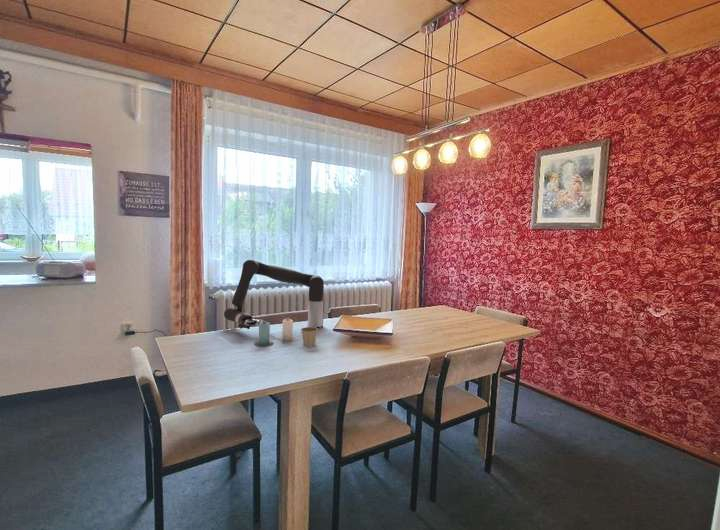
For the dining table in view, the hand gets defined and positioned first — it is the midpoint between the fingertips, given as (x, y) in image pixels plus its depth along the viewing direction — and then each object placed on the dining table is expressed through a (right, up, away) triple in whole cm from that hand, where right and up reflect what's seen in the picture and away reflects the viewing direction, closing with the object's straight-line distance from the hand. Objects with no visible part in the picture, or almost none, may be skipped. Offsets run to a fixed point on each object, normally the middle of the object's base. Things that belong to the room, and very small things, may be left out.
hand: (256, 326), depth 193 cm
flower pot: (+29, -10, -3) cm, 31 cm away
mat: (+6, -9, -6) cm, 12 cm away
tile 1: (+4, -8, +4) cm, 10 cm away
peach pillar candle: (+16, -8, +3) cm, 18 cm away
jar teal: (+6, -8, -6) cm, 12 cm away
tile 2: (+16, -9, +3) cm, 19 cm away
